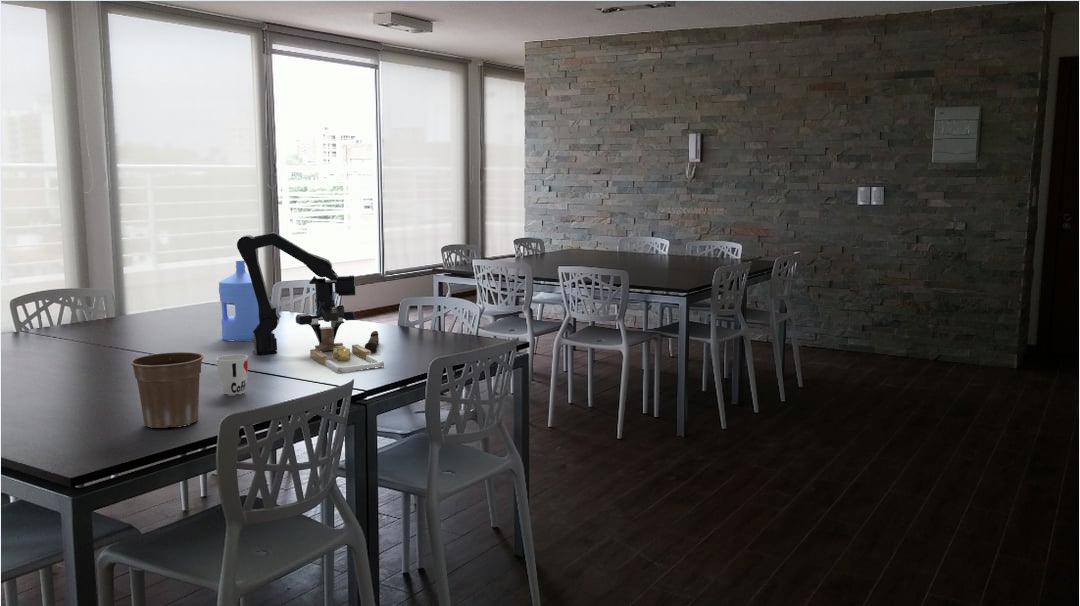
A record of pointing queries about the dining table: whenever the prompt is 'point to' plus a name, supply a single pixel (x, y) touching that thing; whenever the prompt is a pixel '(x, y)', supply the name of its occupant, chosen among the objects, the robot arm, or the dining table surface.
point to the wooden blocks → (322, 357)
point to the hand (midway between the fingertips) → (326, 342)
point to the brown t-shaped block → (327, 339)
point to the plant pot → (168, 388)
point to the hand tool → (373, 342)
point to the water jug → (239, 305)
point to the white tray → (355, 367)
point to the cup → (233, 373)
